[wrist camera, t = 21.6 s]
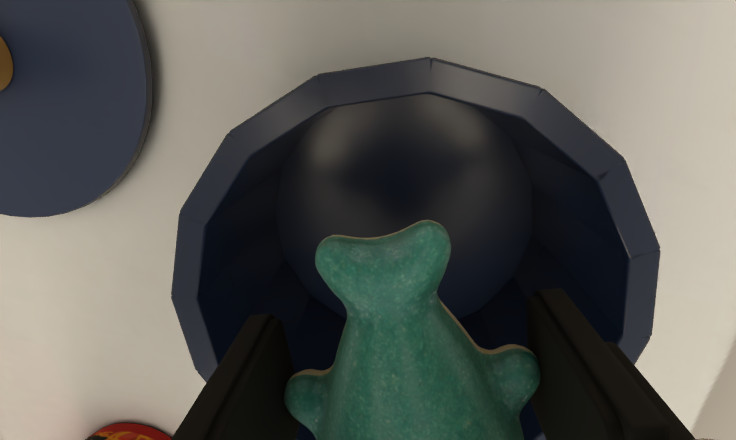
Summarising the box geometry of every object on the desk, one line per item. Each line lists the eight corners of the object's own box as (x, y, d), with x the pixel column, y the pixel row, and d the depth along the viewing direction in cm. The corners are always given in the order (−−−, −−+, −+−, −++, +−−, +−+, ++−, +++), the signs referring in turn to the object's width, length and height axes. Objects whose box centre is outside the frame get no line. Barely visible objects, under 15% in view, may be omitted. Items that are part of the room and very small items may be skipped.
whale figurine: (324, 457, 12) (293, 622, 8) (262, 226, 9) (181, 315, 6) (528, 443, 11) (591, 617, 8) (515, 191, 9) (596, 268, 5)
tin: (233, 94, 18) (105, 106, 10) (546, 47, 17) (686, 17, 9) (294, 346, 22) (237, 494, 14) (545, 326, 21) (638, 480, 13)
